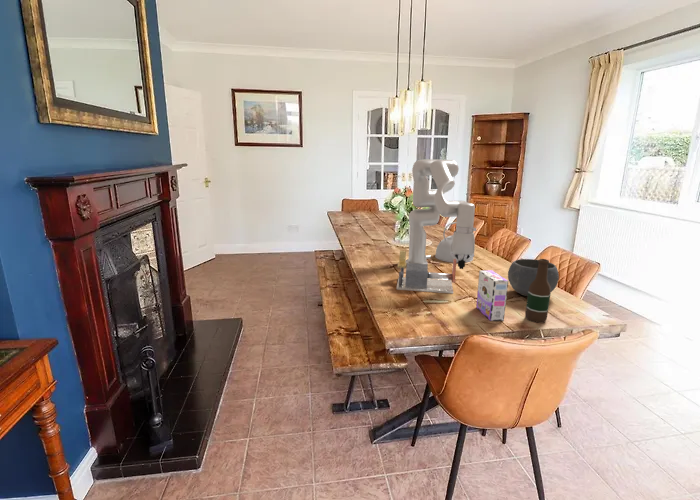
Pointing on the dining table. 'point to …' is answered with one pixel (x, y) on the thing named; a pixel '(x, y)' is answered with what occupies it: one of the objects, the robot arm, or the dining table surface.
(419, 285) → the hitch block
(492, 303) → the candy box
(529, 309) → the beer bottle
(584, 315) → the dining table surface
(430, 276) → the lynch pin
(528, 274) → the bowl
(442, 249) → the kettle
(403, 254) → the plate
